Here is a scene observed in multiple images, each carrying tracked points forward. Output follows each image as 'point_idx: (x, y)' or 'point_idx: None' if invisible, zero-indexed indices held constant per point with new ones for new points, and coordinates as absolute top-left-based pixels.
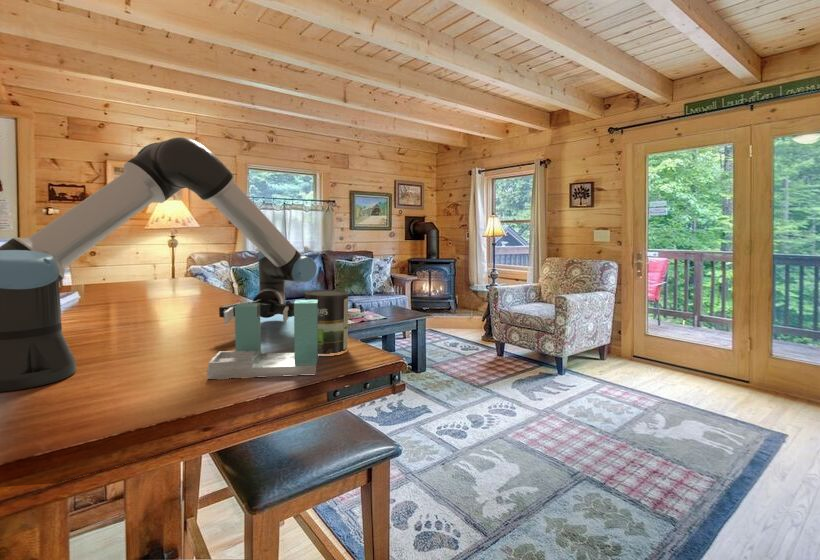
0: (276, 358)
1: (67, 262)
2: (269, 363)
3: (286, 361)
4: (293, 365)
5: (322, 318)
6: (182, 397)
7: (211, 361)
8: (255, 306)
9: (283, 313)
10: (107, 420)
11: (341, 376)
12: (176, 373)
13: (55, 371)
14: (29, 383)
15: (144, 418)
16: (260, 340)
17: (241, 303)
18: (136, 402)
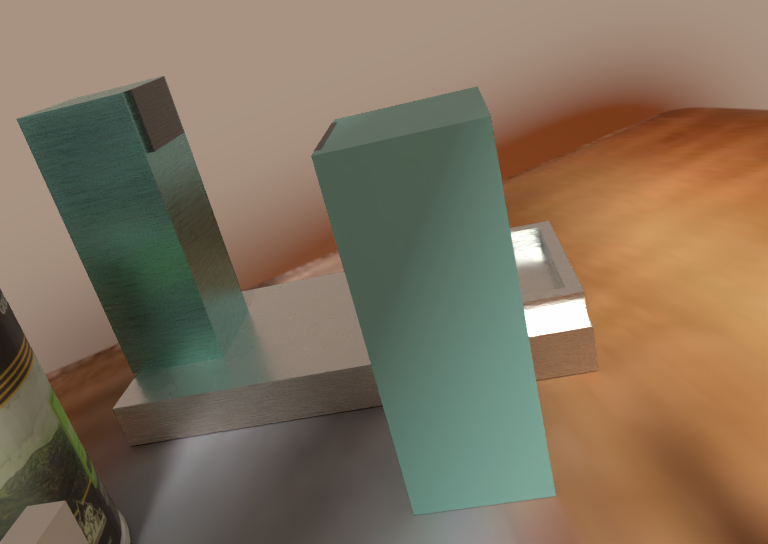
0: (310, 328)
1: None
2: (338, 291)
3: (275, 312)
4: (258, 293)
5: None
6: (557, 208)
7: (544, 228)
8: (342, 118)
9: (72, 526)
10: (644, 151)
11: None
12: (727, 281)
13: None
14: None
15: (575, 165)
16: (390, 426)
17: (462, 116)
18: (655, 181)
